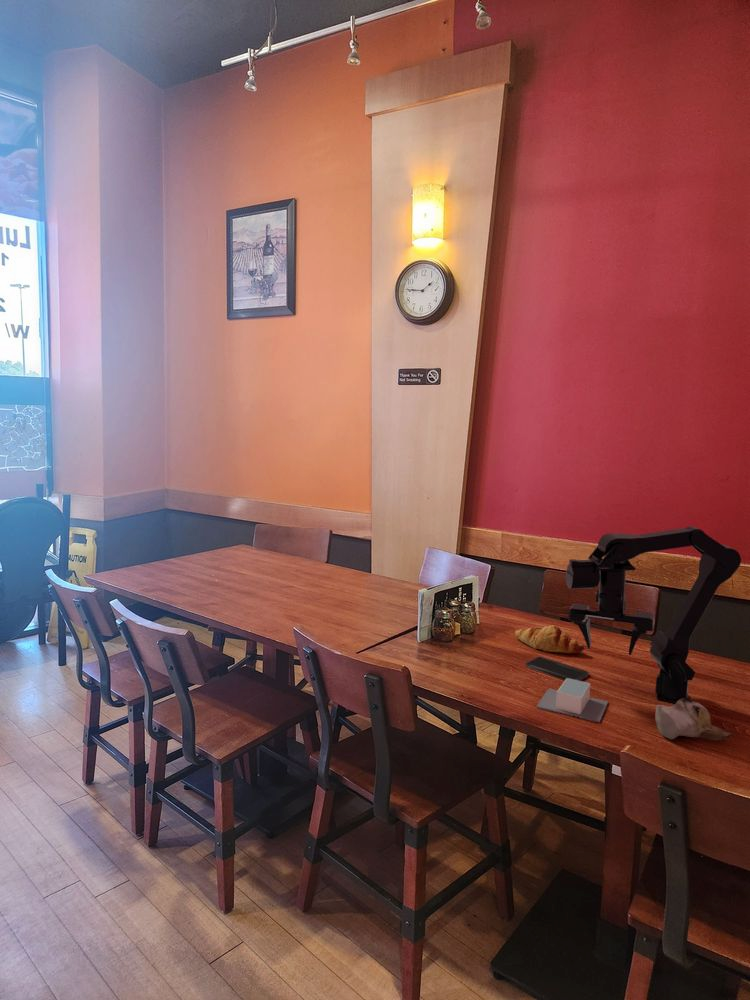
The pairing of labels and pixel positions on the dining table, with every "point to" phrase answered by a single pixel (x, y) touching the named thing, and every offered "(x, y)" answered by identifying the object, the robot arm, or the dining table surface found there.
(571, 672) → the phone
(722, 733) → the ceramic sculpture
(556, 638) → the croissant
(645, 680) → the dining table surface
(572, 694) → the card box
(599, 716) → the mat
